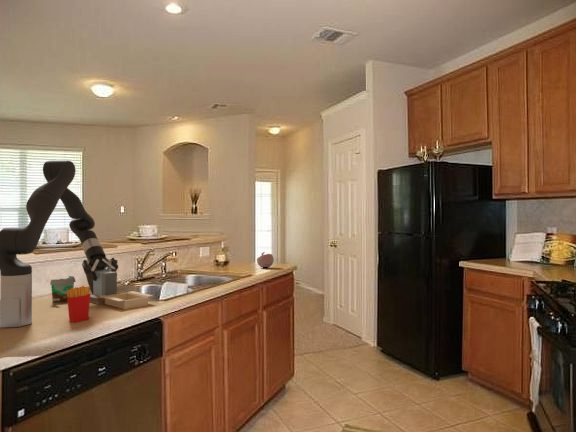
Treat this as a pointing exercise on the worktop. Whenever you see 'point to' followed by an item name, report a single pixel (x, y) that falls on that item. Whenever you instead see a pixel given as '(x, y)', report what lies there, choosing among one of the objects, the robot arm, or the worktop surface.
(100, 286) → the slim box
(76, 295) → the french fries
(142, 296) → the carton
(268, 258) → the apple
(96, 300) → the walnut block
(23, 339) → the worktop surface
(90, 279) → the plant pot
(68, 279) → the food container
